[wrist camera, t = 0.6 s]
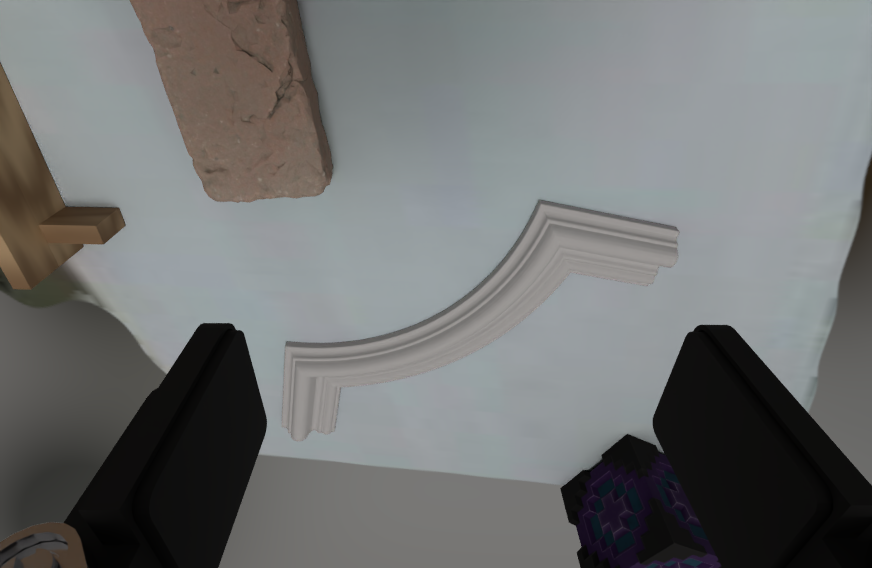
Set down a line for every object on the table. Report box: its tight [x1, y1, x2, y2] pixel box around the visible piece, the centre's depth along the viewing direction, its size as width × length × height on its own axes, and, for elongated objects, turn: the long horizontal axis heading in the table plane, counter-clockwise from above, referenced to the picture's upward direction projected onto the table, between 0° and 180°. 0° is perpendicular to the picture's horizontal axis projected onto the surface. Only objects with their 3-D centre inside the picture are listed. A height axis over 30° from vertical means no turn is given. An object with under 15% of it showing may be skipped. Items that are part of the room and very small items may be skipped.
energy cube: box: [560, 434, 722, 568], centre depth 52 cm, size 12×12×12 cm
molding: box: [282, 200, 680, 441], centre depth 42 cm, size 42×12×3 cm, turn 123°
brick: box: [130, 0, 333, 202], centre depth 28 cm, size 16×8×5 cm, turn 5°
